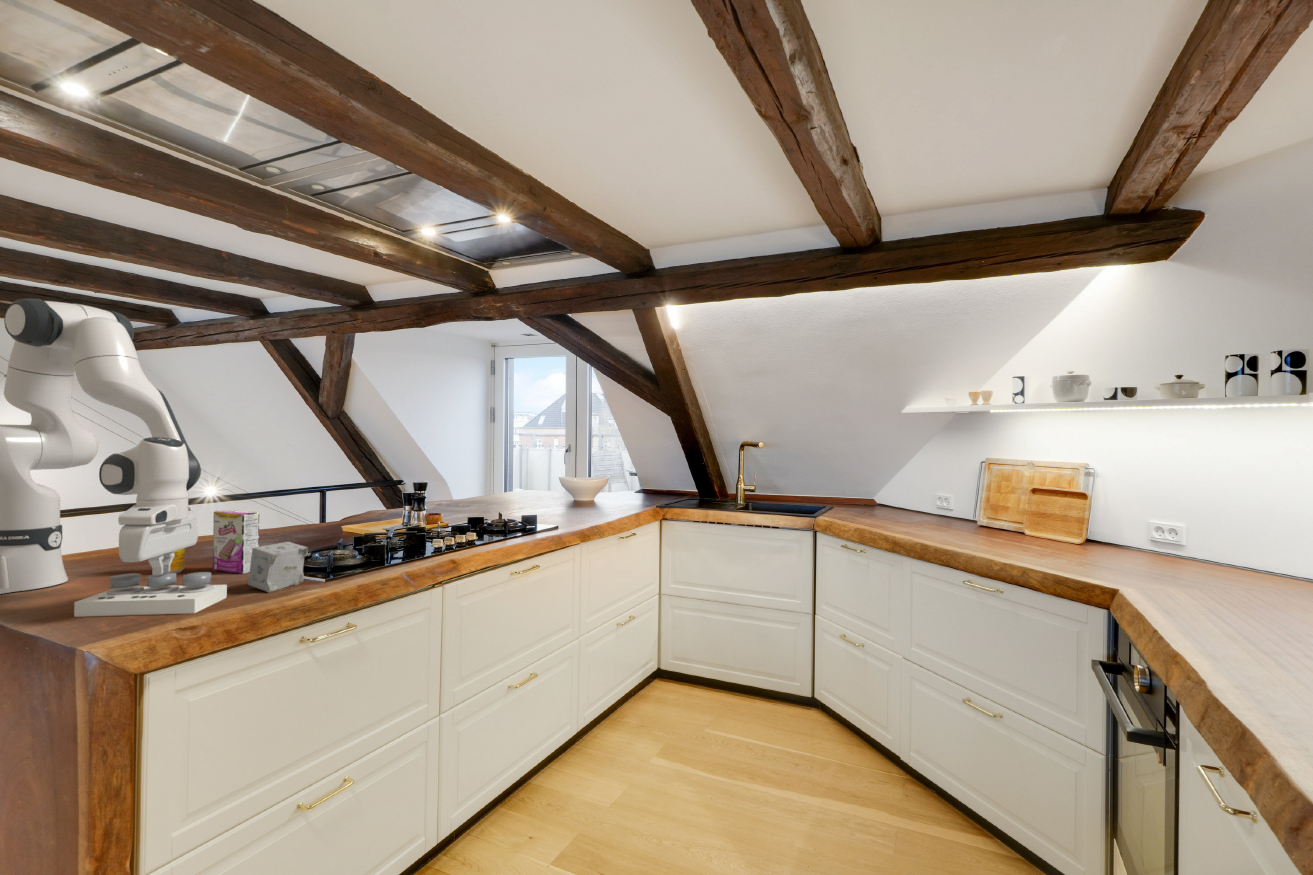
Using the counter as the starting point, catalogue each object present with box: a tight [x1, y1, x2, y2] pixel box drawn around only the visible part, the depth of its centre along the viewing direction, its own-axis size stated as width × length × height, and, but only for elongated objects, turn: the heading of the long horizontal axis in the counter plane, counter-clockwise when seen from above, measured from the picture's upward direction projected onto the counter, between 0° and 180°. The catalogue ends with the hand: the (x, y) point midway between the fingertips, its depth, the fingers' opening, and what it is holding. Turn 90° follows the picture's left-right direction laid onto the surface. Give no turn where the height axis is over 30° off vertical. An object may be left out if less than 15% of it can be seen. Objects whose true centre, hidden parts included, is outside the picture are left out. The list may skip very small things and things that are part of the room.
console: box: [73, 583, 228, 618], centre depth 127 cm, size 22×12×3 cm, turn 99°
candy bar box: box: [212, 509, 260, 575], centre depth 160 cm, size 11×5×16 cm, turn 73°
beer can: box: [168, 548, 186, 574], centre depth 158 cm, size 6×6×15 cm
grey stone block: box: [247, 541, 309, 594], centre depth 145 cm, size 10×8×10 cm
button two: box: [109, 572, 142, 589], centre depth 128 cm, size 5×5×2 cm
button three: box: [146, 573, 177, 587], centre depth 129 cm, size 5×5×2 cm
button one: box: [182, 571, 212, 587], centre depth 130 cm, size 5×5×2 cm
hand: (161, 573), depth 129 cm, fingers closed
